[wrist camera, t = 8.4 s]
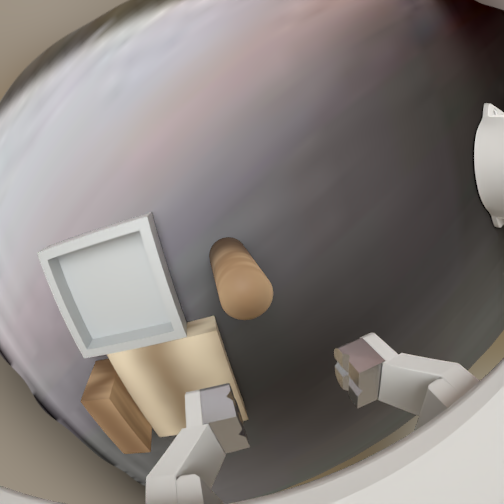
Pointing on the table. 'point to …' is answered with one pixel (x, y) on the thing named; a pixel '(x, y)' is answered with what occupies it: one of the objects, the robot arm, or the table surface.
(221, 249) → the dowel
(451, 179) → the table surface
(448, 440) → the robot arm
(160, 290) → the tray
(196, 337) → the board
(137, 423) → the wooden block
